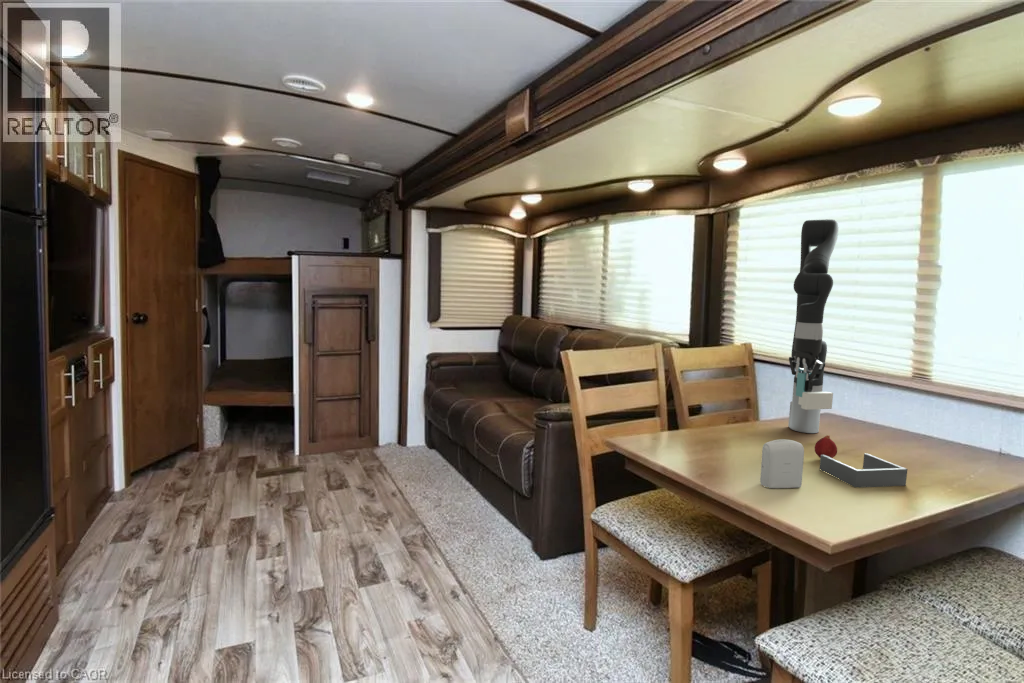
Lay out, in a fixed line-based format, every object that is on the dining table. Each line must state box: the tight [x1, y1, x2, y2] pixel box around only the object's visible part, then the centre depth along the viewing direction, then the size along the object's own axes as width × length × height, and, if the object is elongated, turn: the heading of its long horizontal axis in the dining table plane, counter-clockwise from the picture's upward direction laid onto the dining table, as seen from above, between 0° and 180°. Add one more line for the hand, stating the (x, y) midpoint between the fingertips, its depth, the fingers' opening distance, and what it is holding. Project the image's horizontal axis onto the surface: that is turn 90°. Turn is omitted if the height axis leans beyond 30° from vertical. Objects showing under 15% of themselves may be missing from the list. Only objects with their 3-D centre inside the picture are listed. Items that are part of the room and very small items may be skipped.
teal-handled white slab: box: [796, 371, 834, 410], centre depth 165 cm, size 8×9×10 cm
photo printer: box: [759, 438, 805, 489], centre depth 136 cm, size 10×4×12 cm, turn 96°
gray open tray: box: [819, 452, 908, 488], centre depth 144 cm, size 13×15×4 cm
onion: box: [814, 434, 838, 459], centre depth 157 cm, size 6×6×8 cm
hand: (803, 390), depth 168 cm, fingers closed on teal-handled white slab, 3 cm apart
